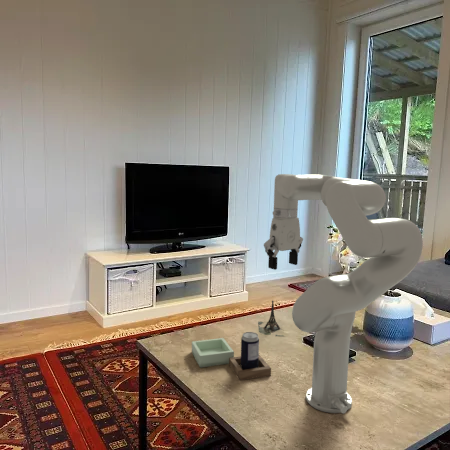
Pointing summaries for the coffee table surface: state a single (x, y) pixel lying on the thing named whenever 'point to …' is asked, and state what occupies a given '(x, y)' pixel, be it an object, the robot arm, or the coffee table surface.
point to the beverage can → (249, 350)
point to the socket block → (249, 373)
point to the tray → (212, 352)
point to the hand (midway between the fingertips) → (283, 266)
